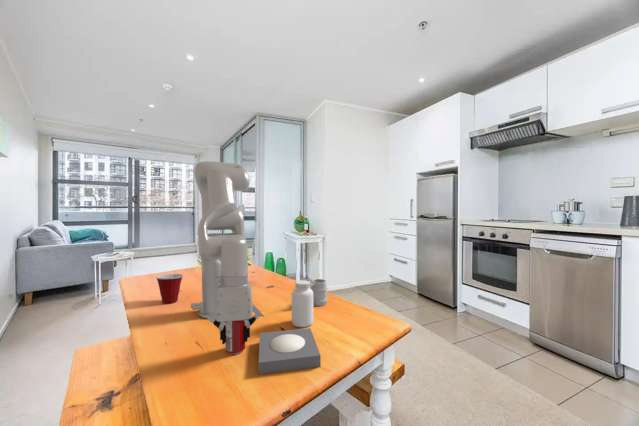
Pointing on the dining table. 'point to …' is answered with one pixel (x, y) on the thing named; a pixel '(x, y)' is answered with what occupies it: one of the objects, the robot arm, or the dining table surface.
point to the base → (287, 351)
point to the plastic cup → (169, 287)
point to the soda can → (235, 336)
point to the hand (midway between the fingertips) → (235, 340)
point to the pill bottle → (302, 304)
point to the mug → (319, 292)
